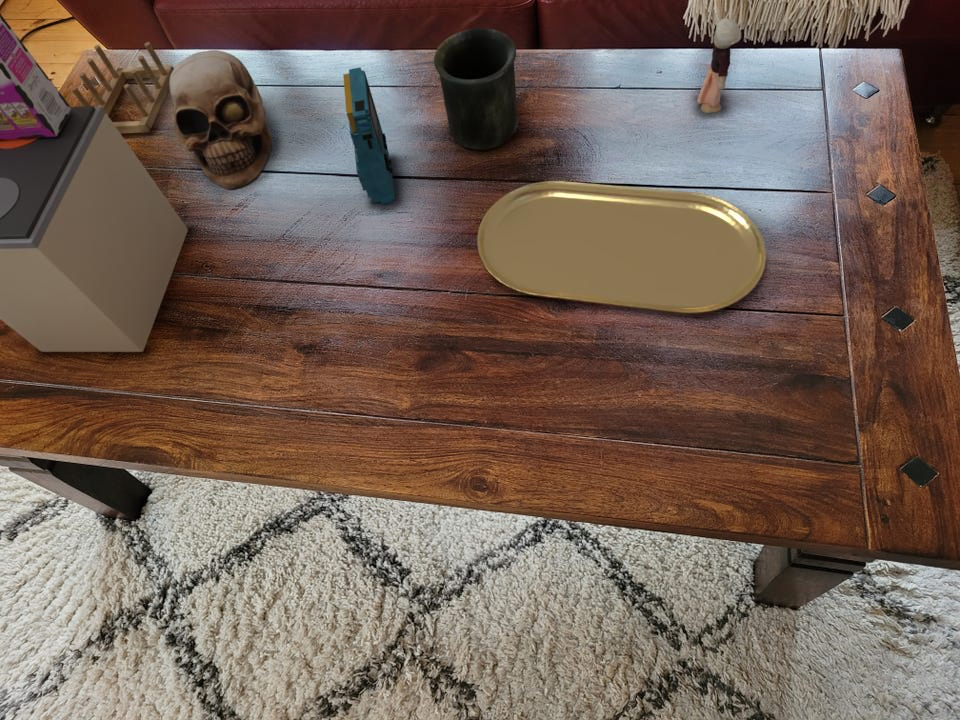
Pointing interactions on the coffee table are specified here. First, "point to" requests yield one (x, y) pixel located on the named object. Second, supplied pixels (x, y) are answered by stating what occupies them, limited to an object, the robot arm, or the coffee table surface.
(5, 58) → the candy bar box
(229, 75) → the tan skull
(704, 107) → the grandmother figurine
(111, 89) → the rack
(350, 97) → the handheld gaming console
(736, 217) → the serving platter
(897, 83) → the coffee table surface
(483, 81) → the mug
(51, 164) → the stove
